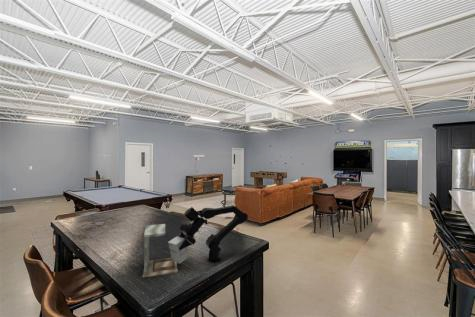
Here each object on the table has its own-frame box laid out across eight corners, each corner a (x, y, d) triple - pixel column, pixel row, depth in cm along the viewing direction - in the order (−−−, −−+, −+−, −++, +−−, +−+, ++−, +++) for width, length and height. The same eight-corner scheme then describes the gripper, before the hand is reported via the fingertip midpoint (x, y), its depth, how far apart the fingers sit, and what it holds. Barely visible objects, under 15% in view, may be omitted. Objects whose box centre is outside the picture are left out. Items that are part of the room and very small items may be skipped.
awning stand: (176, 258, 147) (175, 222, 147) (177, 272, 130) (177, 232, 130) (145, 262, 142) (145, 225, 141) (142, 277, 125) (142, 235, 124)
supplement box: (171, 261, 136) (167, 241, 134) (181, 254, 142) (177, 235, 140) (179, 264, 132) (175, 244, 130) (189, 257, 138) (185, 238, 136)
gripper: (183, 213, 146) (165, 233, 142) (189, 221, 129) (170, 244, 125) (195, 224, 150) (178, 243, 146) (203, 233, 133) (184, 255, 129)
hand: (177, 246), depth 136 cm, fingers closed on supplement box, 9 cm apart
